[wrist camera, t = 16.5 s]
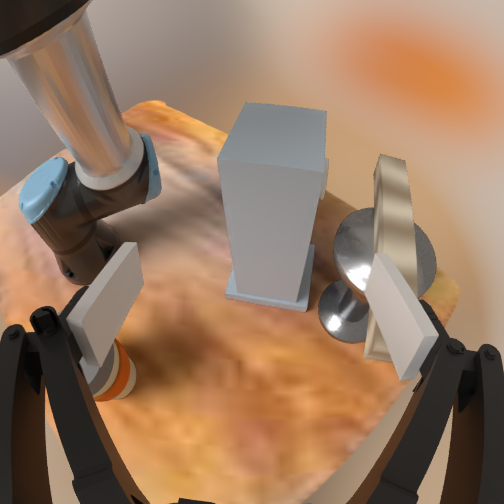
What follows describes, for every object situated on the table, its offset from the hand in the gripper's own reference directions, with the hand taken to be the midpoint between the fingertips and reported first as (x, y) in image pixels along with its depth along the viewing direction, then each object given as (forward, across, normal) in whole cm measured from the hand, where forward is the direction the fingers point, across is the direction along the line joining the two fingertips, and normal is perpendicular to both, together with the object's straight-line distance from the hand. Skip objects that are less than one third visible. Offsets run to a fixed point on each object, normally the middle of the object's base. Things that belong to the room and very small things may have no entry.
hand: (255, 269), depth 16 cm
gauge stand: (+33, +3, -21) cm, 39 cm away
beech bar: (+17, +16, -7) cm, 25 cm away
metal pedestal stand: (+26, +17, -24) cm, 39 cm away
